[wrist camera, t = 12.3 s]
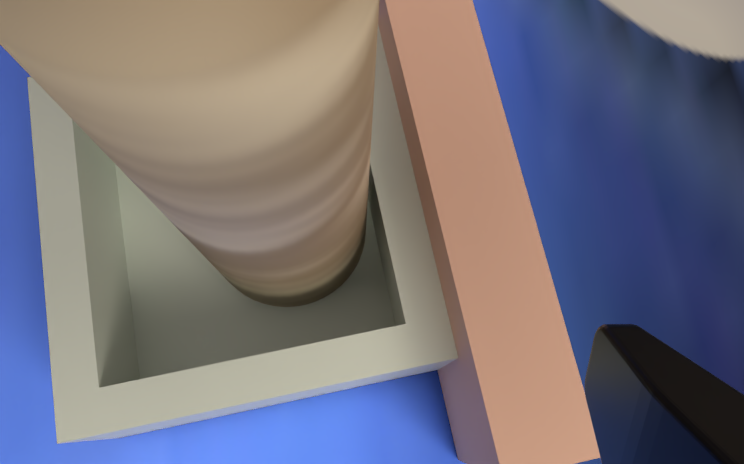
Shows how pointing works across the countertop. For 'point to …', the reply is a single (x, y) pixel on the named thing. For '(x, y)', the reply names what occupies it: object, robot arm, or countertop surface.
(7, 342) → the countertop surface
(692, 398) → the robot arm
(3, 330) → the countertop surface
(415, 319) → the cradle
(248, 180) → the dowel
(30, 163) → the countertop surface
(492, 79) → the backstop wall
